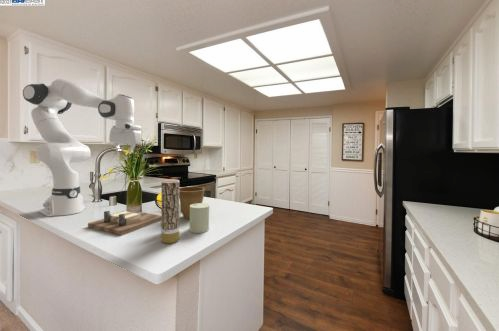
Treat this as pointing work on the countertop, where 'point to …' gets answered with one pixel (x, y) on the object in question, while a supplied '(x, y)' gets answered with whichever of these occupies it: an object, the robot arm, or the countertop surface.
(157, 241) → the countertop surface
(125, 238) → the countertop surface
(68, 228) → the countertop surface
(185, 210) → the plant pot
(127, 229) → the board
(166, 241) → the grey patterned cylinder
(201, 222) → the can
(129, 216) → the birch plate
